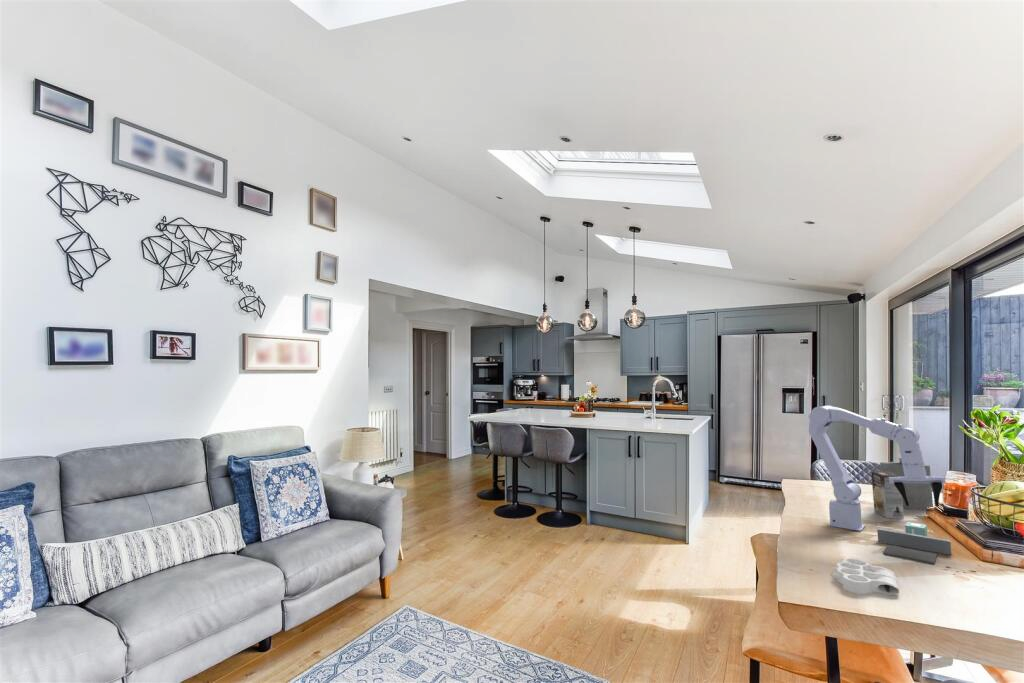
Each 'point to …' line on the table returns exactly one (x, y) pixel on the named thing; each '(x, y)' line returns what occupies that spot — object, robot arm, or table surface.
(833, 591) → the table surface
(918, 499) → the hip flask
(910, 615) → the table surface
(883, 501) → the coffee box
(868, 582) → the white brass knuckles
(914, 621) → the table surface
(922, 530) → the letter cube
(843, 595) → the table surface
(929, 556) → the mat
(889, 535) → the panel
